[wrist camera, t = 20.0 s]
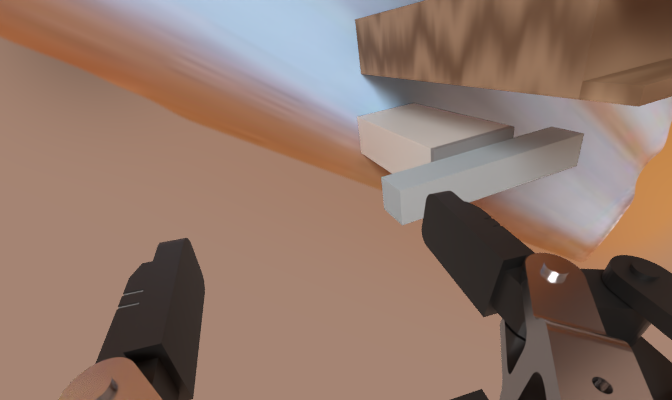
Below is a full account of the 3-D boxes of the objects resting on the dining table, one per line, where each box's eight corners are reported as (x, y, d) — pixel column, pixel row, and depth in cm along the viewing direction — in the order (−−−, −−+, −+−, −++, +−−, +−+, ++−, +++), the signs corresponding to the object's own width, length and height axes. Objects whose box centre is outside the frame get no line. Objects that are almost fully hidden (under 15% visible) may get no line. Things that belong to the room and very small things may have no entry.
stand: (355, 19, 42) (691, -73, 12) (442, 4, 45) (880, -97, 15) (361, 73, 45) (638, 106, 15) (442, 56, 49) (803, 56, 19)
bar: (381, 177, 30) (400, 190, 27) (551, 126, 35) (584, 133, 32) (384, 208, 32) (402, 225, 29) (546, 156, 36) (576, 165, 33)
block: (356, 116, 48) (434, 149, 31) (413, 102, 50) (514, 126, 33) (361, 153, 51) (434, 202, 34) (414, 138, 53) (508, 177, 36)
